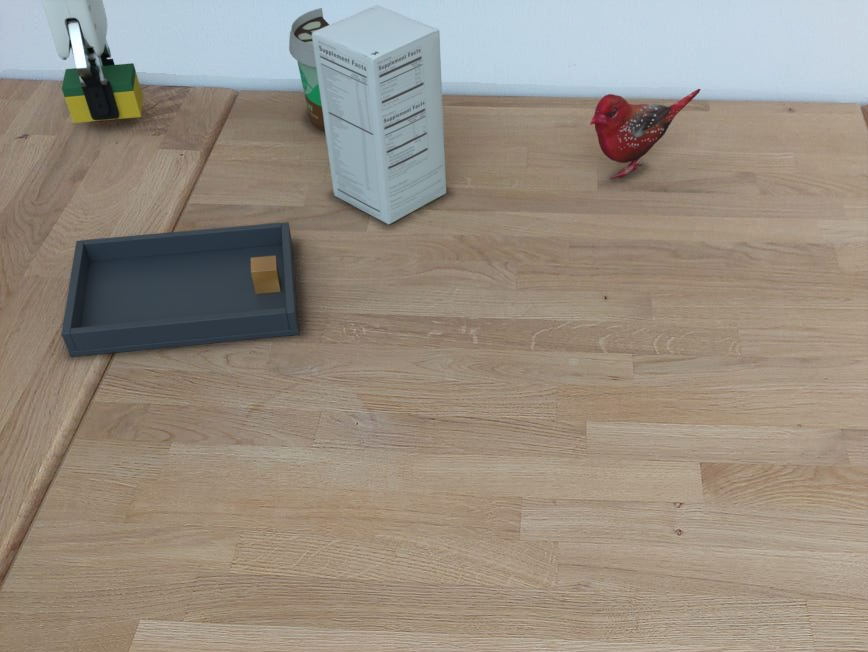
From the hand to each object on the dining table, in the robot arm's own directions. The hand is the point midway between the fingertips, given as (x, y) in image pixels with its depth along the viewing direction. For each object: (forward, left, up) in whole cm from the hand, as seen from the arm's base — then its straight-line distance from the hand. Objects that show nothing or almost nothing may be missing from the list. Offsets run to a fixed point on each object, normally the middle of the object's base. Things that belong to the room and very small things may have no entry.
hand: (107, 105), depth 117 cm
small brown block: (+18, -38, -1) cm, 42 cm away
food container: (+26, -4, -2) cm, 26 cm away
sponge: (0, 0, -1) cm, 1 cm away
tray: (+10, -38, -2) cm, 39 cm away
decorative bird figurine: (+61, -21, -2) cm, 65 cm away
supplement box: (+32, -22, -2) cm, 39 cm away
